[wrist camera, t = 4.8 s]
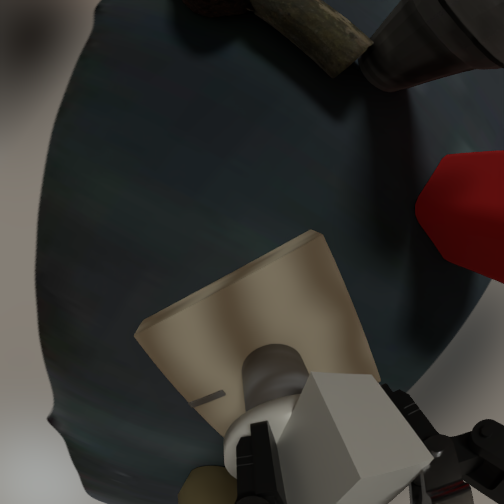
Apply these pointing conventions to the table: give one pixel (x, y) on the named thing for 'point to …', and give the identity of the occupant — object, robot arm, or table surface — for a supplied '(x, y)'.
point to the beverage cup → (434, 42)
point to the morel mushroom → (300, 27)
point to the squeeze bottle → (209, 487)
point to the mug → (467, 211)
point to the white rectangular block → (337, 441)
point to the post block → (259, 332)
